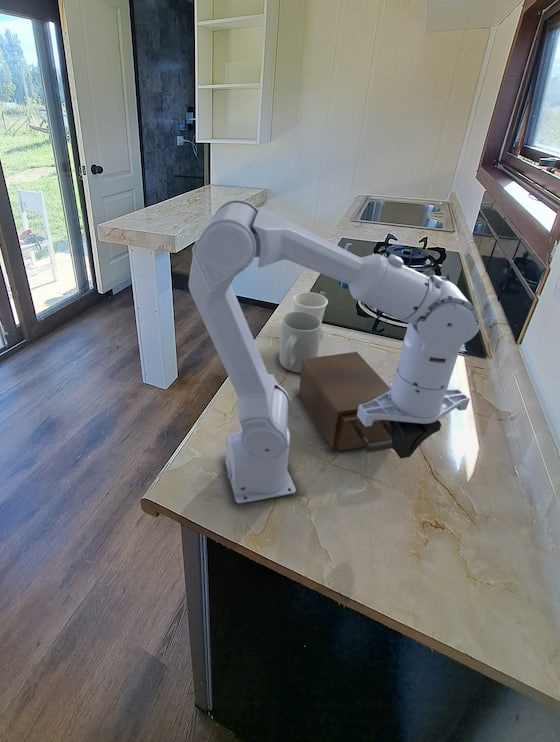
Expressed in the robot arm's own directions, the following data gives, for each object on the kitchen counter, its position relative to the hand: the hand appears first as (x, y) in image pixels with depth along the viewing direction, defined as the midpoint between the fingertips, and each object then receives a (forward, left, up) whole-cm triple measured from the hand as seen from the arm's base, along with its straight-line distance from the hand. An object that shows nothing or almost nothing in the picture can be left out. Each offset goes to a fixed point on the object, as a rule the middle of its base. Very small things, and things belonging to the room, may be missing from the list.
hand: (400, 452), depth 53 cm
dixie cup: (+7, +45, -10) cm, 47 cm away
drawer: (+2, +13, -9) cm, 16 cm away
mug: (-1, +33, -10) cm, 35 cm away
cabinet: (+2, +17, -10) cm, 20 cm away
